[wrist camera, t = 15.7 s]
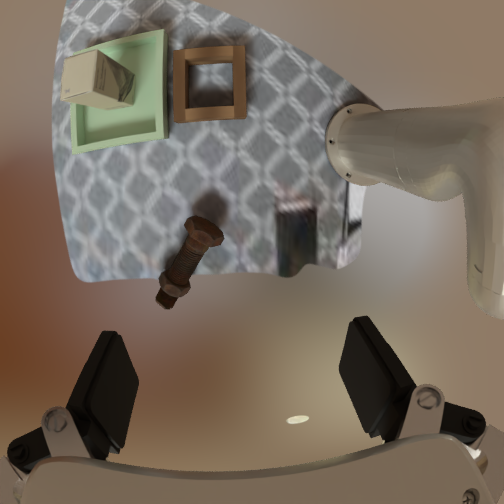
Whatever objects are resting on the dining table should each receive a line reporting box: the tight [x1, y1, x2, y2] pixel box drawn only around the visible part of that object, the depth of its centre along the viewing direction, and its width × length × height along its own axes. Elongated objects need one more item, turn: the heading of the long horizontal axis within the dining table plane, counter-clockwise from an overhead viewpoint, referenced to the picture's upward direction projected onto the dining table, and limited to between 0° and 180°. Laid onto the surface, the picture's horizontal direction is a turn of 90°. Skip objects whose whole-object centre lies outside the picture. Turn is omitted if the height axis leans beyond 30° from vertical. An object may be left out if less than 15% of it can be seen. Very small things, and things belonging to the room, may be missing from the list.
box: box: [60, 49, 135, 110], centre depth 24 cm, size 5×4×13 cm
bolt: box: [156, 216, 224, 309], centre depth 39 cm, size 6×5×15 cm
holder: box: [173, 46, 247, 123], centre depth 30 cm, size 9×10×4 cm
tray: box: [71, 29, 169, 155], centre depth 29 cm, size 14×16×3 cm
